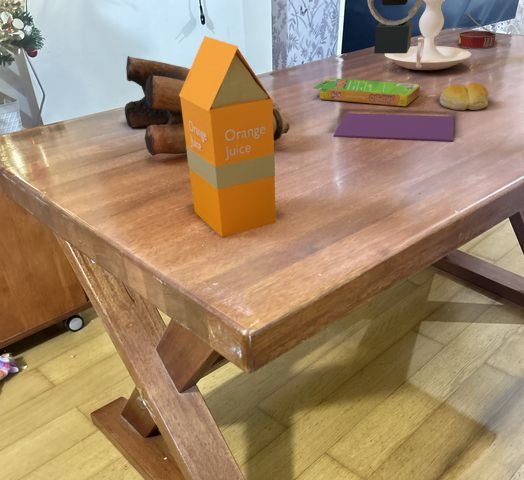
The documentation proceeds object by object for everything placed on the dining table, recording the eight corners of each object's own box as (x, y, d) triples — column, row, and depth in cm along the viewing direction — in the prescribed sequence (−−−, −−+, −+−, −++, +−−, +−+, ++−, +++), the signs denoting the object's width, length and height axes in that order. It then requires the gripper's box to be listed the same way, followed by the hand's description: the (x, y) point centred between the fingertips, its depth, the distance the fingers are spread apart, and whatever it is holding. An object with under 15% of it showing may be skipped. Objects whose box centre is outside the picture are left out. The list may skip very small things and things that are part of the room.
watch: (365, 46, 78) (371, -48, 72) (423, 46, 76) (434, -51, 69) (359, 53, 74) (364, -46, 67) (420, 53, 72) (431, -49, 65)
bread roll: (437, 100, 110) (440, 79, 108) (483, 100, 109) (488, 78, 106) (440, 111, 104) (444, 88, 101) (489, 111, 102) (494, 88, 100)
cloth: (453, 118, 100) (453, 116, 100) (453, 141, 90) (453, 139, 89) (345, 114, 105) (345, 113, 105) (333, 136, 94) (333, 134, 94)
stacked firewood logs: (148, 67, 75) (309, 71, 84) (115, 54, 100) (243, 58, 108) (153, 162, 82) (302, 157, 90) (121, 128, 106) (241, 126, 115)
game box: (405, 111, 107) (310, 98, 115) (418, 100, 114) (328, 88, 121) (408, 94, 105) (311, 82, 113) (420, 84, 112) (329, 73, 119)
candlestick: (370, 78, 128) (381, -71, 111) (393, 58, 146) (406, -74, 128) (460, 83, 121) (487, -76, 104) (473, 61, 139) (498, -78, 121)
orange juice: (245, 199, 74) (235, 32, 62) (277, 222, 68) (272, 41, 56) (192, 212, 71) (170, 40, 59) (220, 237, 65) (202, 51, 53)
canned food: (465, 60, 162) (477, 24, 159) (495, 60, 155) (509, 22, 152) (445, 44, 154) (458, 6, 152) (476, 44, 147) (490, 4, 145)
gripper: (447, -208, 53) (422, 10, 64) (448, -184, 66) (427, -6, 77) (370, -199, 55) (359, 11, 66) (385, -177, 68) (374, -4, 79)
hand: (396, 0), depth 71 cm, fingers closed on watch, 4 cm apart
